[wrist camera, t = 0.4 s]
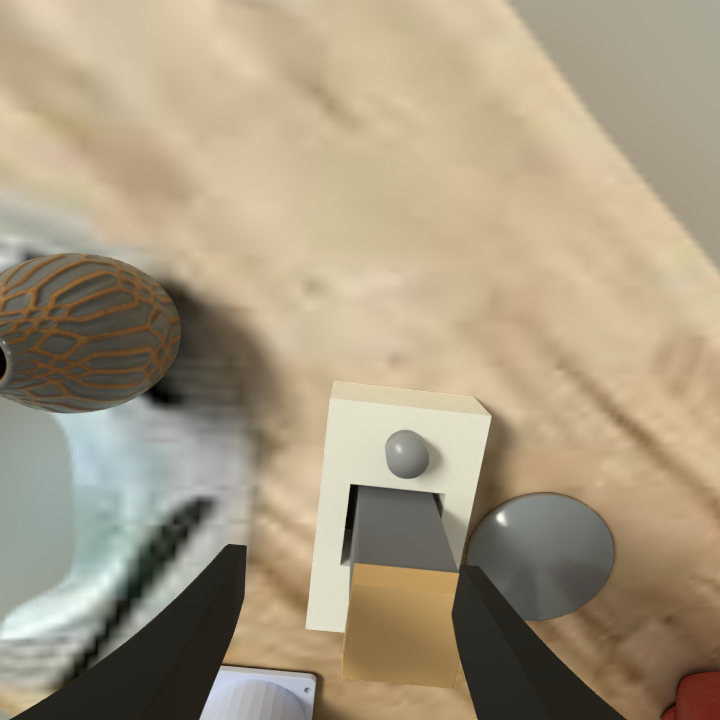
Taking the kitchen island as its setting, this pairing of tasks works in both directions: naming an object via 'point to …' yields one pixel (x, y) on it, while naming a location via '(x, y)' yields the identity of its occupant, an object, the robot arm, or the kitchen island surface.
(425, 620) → the plug
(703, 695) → the vegetable
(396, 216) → the kitchen island surface
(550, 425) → the kitchen island surface
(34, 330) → the vase
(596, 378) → the kitchen island surface
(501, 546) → the coaster
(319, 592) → the switch plate
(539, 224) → the kitchen island surface
